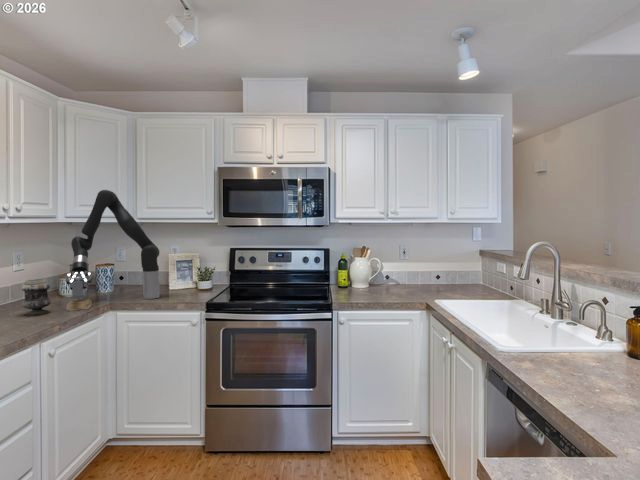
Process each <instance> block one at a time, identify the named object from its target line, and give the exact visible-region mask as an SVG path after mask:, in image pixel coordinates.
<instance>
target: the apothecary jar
mask: <svg viewBox="0 0 640 480" xmlns="http://www.w3.org/2000/svg"><path fill="white" fill-rule="evenodd" d="M24 281H25V282H24V284H23V285H22V286H21V290H22V292H24V300H23V301H22V303H21V306H22V307H23V308H24V309H28V310H30V311H28V312H26V313H25V315H24V316H28V317H33V316H40V315H46V314H49V313H50V310H48V309H45V308H46V307H48V306H50V305H51V303H52V300H51V299H50V298H49V293H48V290H49V289H50V288H51V285H50V283H48V282H47V279H46V278H33V279H27V280H24ZM43 308H44V309H43Z"/></svg>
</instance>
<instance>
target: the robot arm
mask: <svg viewBox="0 0 640 480" xmlns="http://www.w3.org/2000/svg"><path fill="white" fill-rule="evenodd" d="M96 195H97V196H96V198H95V201H94V204H93V207H92V210H91V212H90V214H89V216H88V217H87V220H86V222H85V223H84V225H83V227H82V228H81V233H82V234H83V235H85V236H86V237H87V238H85V237H82V236H78V235H77V236H75V237H73V238H72V240H71V248H72V252H73V259H72V266H71V272H70V273H64V277H65V284H66V285H68V286H69V290H71V291H72V281H74V277H78V276H82V277H83V280H84V281H85V282H84V289H85V290H86V289H87V288H88V284H91V283H92V280H93V279H94V272H93V271H91V272H89V267H88V266H89V253H88V251H90V250H91V249H92V247H93V241H94V237H95V234H96V232H97V231H98V228H99V227H100V224H101V221H102V217H103V214H104V212H105V211H106V209H107V208H108V210H110V212H111V213H112V214H113V215H114V217H115V219H116V222H117V223H118V226H119V227H120V229H122V231H123V232H124V234H126V235H127V236H128V237H129V239H131V240H132V241H134V242H135V243H136V244H137V245H138V246H139V247H140V249H141V251H140V261H141V267H142V268H141V269H142V292H143V293H142V294H143V297H142V298H143V299H144V300H151V299H152V300H153V299H160V269H159V264H158V257H159V256H160V248H159V247H157V245H155V243H154V242H153V241H152V240H151V239H150V238H149V237H148V236H147V234H146V233H145V231H144V229H143V228H142V227H141V226H140V224H139V223H138V222H137V220H136V219H135V218H134V216H132V214H131V213H130V212H129V211H128V210H127V209H126V208H125V207H124V205H123V203H122V202H121V201H120V199H119V197H118V196H117V194H116V193H115V192H113V191H112V190H108V189H102V190H100V191H98V193H97V194H96ZM87 276H89V277H88V279H87ZM70 277H71V279H70V280H69V278H70Z"/></svg>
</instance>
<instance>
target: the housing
mask: <svg viewBox="0 0 640 480" xmlns="http://www.w3.org/2000/svg"><path fill="white" fill-rule="evenodd" d="M84 282H85V281H84V280H83V277H82V276H78V277H74V281H72V290H71V291H72V292H71V293H72V296H71V299H74V298H75V299H77V298H78V299H79V298H85V297H86V296H87V294H86V289H84Z"/></svg>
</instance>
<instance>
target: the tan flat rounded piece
mask: <svg viewBox="0 0 640 480" xmlns="http://www.w3.org/2000/svg"><path fill="white" fill-rule="evenodd" d="M92 304H93V303H92V300H91V298H86V299H83V298H82V299H72V300H70V301H69V302H68V303H67V304H66V305H65V306H66V308H65V309H66V311H67V312H69V311H70V312H72V311H83V310H84V311H86V310H89V309H90V308H91V307H92Z"/></svg>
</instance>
